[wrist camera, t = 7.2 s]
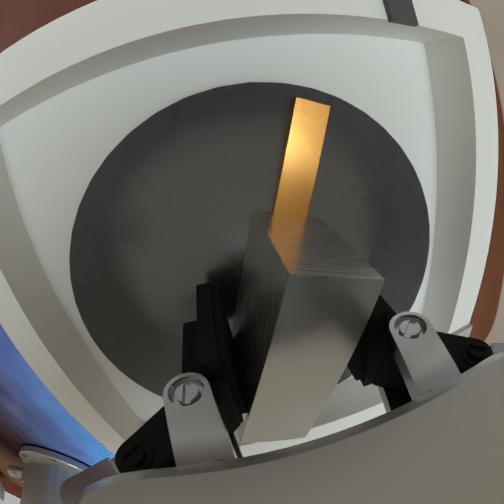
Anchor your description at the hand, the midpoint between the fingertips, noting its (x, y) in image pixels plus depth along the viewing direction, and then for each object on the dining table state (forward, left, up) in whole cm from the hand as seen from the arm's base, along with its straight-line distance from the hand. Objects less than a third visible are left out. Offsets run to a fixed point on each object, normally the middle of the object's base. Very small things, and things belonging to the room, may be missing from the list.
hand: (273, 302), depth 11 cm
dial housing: (0, 0, -4) cm, 4 cm away
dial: (0, 0, -2) cm, 2 cm away
